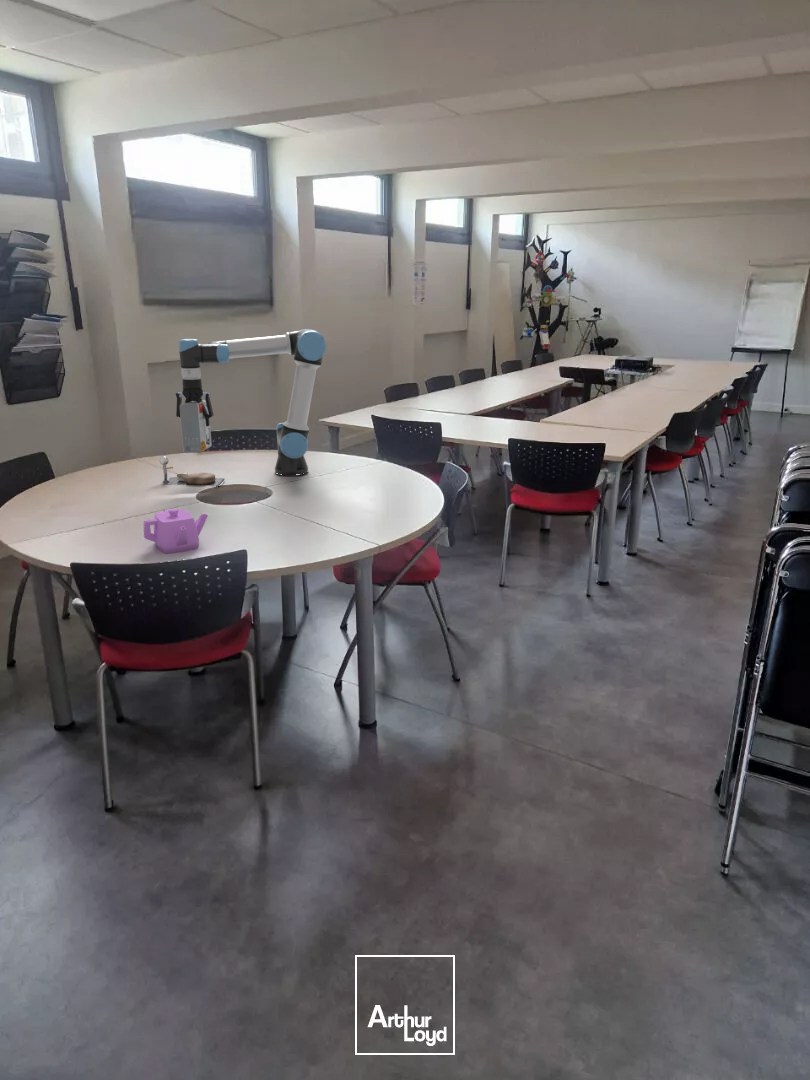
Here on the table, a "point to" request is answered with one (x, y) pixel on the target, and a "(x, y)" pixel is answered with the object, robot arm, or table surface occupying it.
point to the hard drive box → (194, 427)
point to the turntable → (196, 478)
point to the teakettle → (174, 530)
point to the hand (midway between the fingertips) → (196, 433)
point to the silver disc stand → (165, 468)
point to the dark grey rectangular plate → (174, 482)
